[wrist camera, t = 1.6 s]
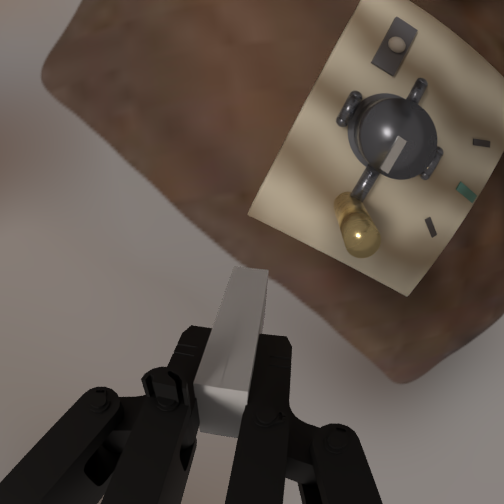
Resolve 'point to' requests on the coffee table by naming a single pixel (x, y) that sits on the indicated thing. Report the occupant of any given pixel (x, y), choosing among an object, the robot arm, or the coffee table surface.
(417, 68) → the lever board
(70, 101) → the coffee table surface
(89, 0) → the coffee table surface
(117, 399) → the robot arm
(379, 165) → the grey round handled piece
